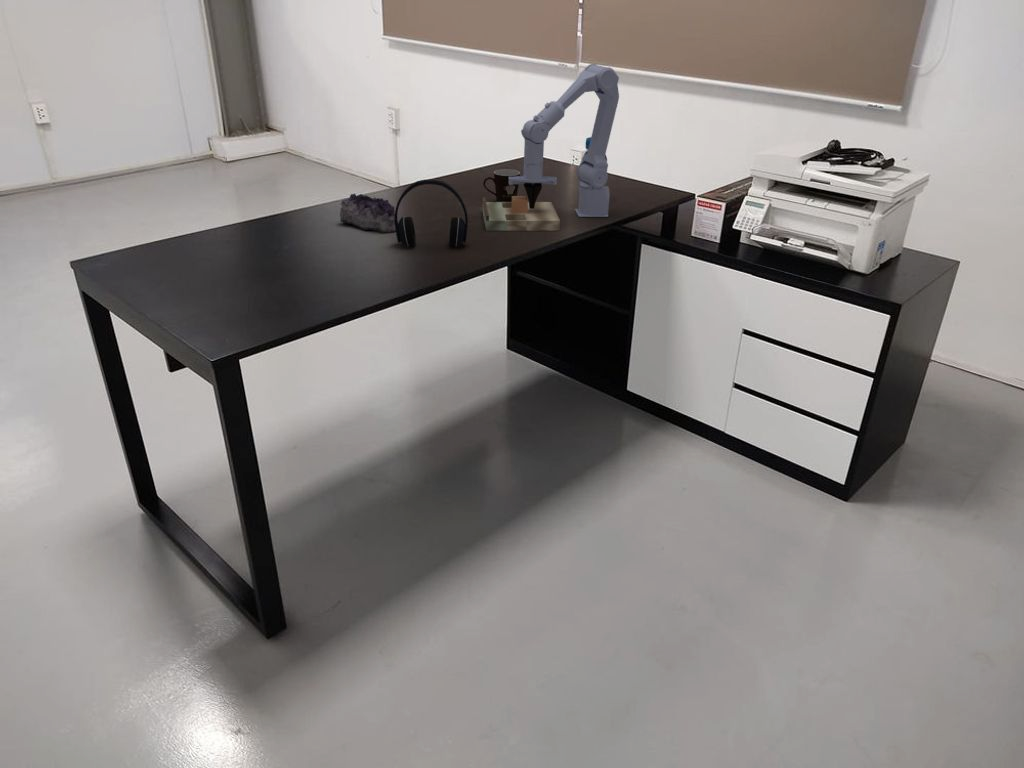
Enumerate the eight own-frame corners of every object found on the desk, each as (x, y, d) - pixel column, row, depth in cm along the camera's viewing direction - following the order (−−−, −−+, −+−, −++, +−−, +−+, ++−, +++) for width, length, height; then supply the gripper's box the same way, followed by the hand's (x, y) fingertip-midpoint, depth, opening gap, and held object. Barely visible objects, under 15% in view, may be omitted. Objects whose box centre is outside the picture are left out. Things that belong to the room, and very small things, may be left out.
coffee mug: (520, 200, 259) (521, 170, 254) (518, 207, 251) (518, 176, 246) (486, 198, 259) (486, 168, 255) (482, 205, 252) (482, 174, 247)
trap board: (550, 211, 248) (551, 197, 246) (559, 230, 230) (560, 215, 228) (482, 211, 246) (482, 197, 244) (486, 230, 228) (486, 215, 226)
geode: (411, 227, 230) (407, 195, 224) (384, 242, 223) (380, 209, 217) (362, 212, 240) (357, 181, 234) (335, 225, 232) (329, 194, 226)
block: (525, 209, 239) (526, 196, 237) (527, 213, 235) (528, 200, 233) (511, 209, 238) (511, 196, 236) (512, 213, 234) (513, 200, 233)
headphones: (395, 249, 212) (391, 183, 203) (397, 241, 218) (393, 176, 209) (467, 249, 213) (467, 183, 204) (467, 241, 219) (467, 177, 210)
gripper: (555, 159, 234) (553, 204, 241) (508, 159, 233) (507, 204, 239) (558, 165, 228) (556, 210, 234) (510, 165, 227) (509, 210, 233)
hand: (531, 207), depth 236 cm, fingers closed
